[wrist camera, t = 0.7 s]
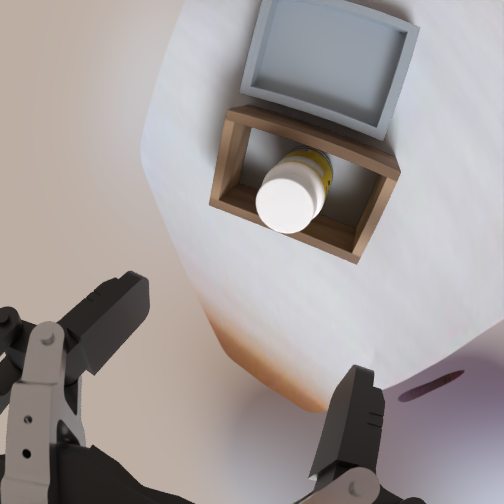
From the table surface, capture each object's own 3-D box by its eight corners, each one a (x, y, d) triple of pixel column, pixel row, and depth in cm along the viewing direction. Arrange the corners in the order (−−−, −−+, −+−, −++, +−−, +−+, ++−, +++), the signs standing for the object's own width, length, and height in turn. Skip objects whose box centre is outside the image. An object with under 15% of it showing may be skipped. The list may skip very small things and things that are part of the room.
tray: (275, -9, 18) (266, -16, 17) (415, 32, 17) (420, 27, 15) (249, 91, 24) (239, 93, 23) (381, 136, 22) (382, 141, 21)
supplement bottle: (314, 206, 28) (292, 252, 21) (272, 176, 28) (237, 212, 21) (344, 167, 25) (333, 202, 18) (299, 135, 25) (271, 157, 18)
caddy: (248, 104, 25) (226, 109, 22) (396, 157, 23) (401, 172, 19) (229, 187, 30) (208, 205, 27) (359, 239, 28) (356, 264, 24)
